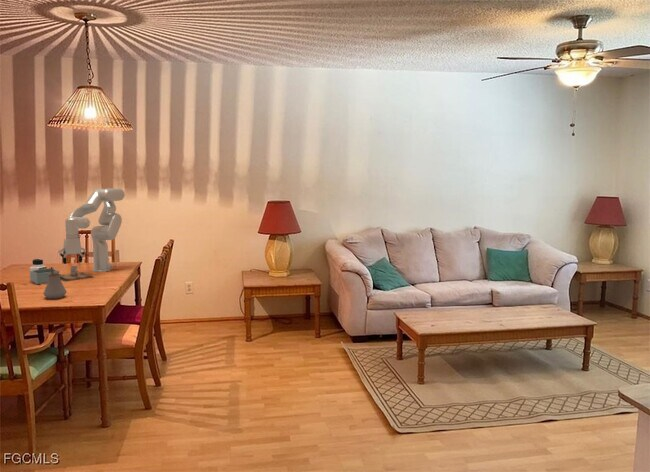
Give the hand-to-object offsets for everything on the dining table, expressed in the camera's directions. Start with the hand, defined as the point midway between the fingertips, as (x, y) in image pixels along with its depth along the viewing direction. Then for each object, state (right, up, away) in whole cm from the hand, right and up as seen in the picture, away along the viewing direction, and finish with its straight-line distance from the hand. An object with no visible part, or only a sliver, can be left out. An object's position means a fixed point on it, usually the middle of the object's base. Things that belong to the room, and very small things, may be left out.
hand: (72, 263), depth 347 cm
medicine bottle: (-24, -10, +3) cm, 26 cm away
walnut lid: (0, -9, +2) cm, 10 cm away
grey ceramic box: (-12, -11, -11) cm, 20 cm away
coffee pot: (+12, -16, -46) cm, 50 cm away
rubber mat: (0, -10, +2) cm, 10 cm away
